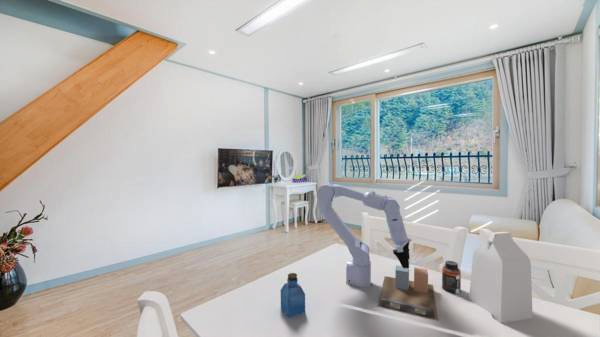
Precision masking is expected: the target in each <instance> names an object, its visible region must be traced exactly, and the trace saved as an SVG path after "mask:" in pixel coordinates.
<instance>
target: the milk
mask: <svg viewBox="0 0 600 337" xmlns="http://www.w3.org/2000/svg"><path fill="white" fill-rule="evenodd" d="M471 264H472V265H471V273H470V284H469V285H470V286H469V296H468V300H470V301H471V302H473V303H474V304H476V305H477V306H479V307H480V308H482V309H483V310H484V311H486V312H487V313H489V314H490V315H491V316H492V319H494V320H495V321H497V322H498V323H499V324H504V323H510V322H517V321H524V320H530V319H531V320H532V319H533V318H534V316H533V314H534V313H533V294H532V292H533V288H532V287H533V286H532V263H531V260H530V258H529V256H528V255H527V254H526V253H525V251H524V250H522V248H521V247H520V246H519V245H518V244H517V243H516V242H515V241H514V238H513V237H512V234H511V232H509V231H497V232H495V231H493V232H491V233H490V235H489V239H488V240H487V241H486V242H485V243H483V244H480V245H479V246H478V247H476V248H475V249H474V250H473V254H472V263H471Z"/></svg>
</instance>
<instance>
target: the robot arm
mask: <svg viewBox="0 0 600 337" xmlns="http://www.w3.org/2000/svg"><path fill="white" fill-rule="evenodd" d="M338 197H346V198H349V199H354V200H357V201H360V202H362V203H363V205H364V206H365V207H369V208H372V209H375V210H377V211H383V212H384V213H385V216H386V218H385V221H386V224H387V227H388V231H389V234H390V239H391V243H392V244H393V246H394V247H395V248H396V249H393V250H392V253H393V255H395V257H396V258H397V260H398V261H399V263H400V266H402V267H403V268H409V269H410V261H409V260H410V248H409V247H410V242H412V238H411V237H408V235H407V232H406V228H405V224H404V220H403V218H402V215H401V211H400V210H401V207H400V205H399V203H398V202H397V200H396V199H395V198H393V197H391V196H388V195H386V194H385V195H380V194H378V193H376V191H374V190H372V191H366V192H365V193H364V192H361V191H359V190H356V189H353V188H349V187H347V186H344V185H340V184H336V183H331V182H326V183H325V182H324V183H323V184H322V185H320V186H319V188H317V192H316V199H317V203H318V204H317V205H318V211H319V212H320V214H321V215H322V217H323V218H324V219H325V220H326V222H327V223H328V224H329V226H330V227H331V228H332V229H333V230H334V231H335V233H336V234H337V235H338V237H339V238H340V239H341V240H342V241H343V243H344V244H345V245H346V247H347V249H348V252H349V253H350V255H351V257H352V260H348V261H347V262H346V267H345V270H346V272H345V274H346V275H345V278H346V279H345V283H346V284H345V286H347V285H348V284H351V285H354V286H357V287H361V288H368V287H369V286H370V285H371V284H372V282H371V281H372V279H371V278H372V267H371V266H372V262H371V260H370V251H371V250H370V247H369V245H368V244H366V243H365V242H362V240H360V238H358V237H357V236H356V235H355V234H354V233H353V231H352V230H351V229H350V228H349V227H348V225H347V224H346V223H345V221H344V220H343V219H342V217H340V215H339V214H338V213H337V211H336V210H335V209H334V208H333V207H332V206H333V202H334V201H333V199H334V198H338Z"/></svg>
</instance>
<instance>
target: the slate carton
mask: <svg viewBox="0 0 600 337" xmlns="http://www.w3.org/2000/svg"><path fill="white" fill-rule="evenodd" d="M394 278H395V288H398V289H404V290H408V288H409V281H410V267H409V268H403V267H402V265H395V277H394Z"/></svg>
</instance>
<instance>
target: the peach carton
mask: <svg viewBox="0 0 600 337" xmlns="http://www.w3.org/2000/svg"><path fill="white" fill-rule="evenodd" d="M413 281H414V290H415V291H420V292H426V293H427V291H428V284H429V271H428V269H427V268H423V267H415V266H414V269H413Z"/></svg>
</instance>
